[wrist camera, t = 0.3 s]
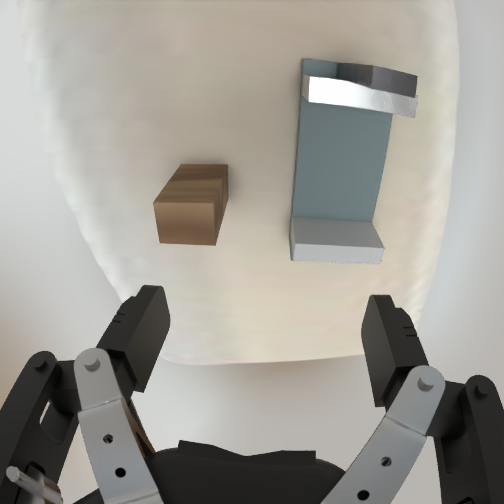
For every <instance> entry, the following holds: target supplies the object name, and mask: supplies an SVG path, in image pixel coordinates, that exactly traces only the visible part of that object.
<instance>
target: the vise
mask: <svg viewBox="0 0 504 504" xmlns="http://www.w3.org/2000/svg"><path fill="white" fill-rule="evenodd" d="M303 74H307V75H317V76H326V77H334V78H336V75H337V63H336V62H329V61H320V60H311V59H302V75H301V93H300V109H299V125H298V139H297V152H296V165H295V177H294V189H293V200H292V211H291V221H290V232H289V243H290V256H291V260H292V261H311V262H334V263H358V264H380V262H381V259H382V256H383V252H384V249H385V248H384V246H383V244H382V242H381V240H380V238H379V236H378V234H377V232H376V230H375V228H374V226H373V224H372V219H373V215H374V210H375V206H376V202H377V197H378V193H379V188H380V183H381V178H382V173H383V168H384V163H385V157H386V152H387V146H388V140H389V134H390V128H391V121H392V114H393V113H387V112H382V111H376V110H371V109H364V108H358V107H351V106H344V105H336V104H327V103H318V102H309V101H308V100H307V99H306V98H305V97H304V96H303V95H302V91H303Z"/></svg>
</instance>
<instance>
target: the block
mask: <svg viewBox="0 0 504 504" xmlns="http://www.w3.org/2000/svg"><path fill="white" fill-rule="evenodd" d="M227 201H228V165H217V164H184V165H180V167H179V168H178V169H177V171H176V172H175V173H174V175H173V176H172V177H171V179H170V180H169V181H168V183H167V184H166V185H165V187H164V188H163V190H162V191H161V192H160V194H159V195H158V196H157V198H156V199H155V201H154V202H153V204H154V211H155V217H156V224H157V230H158V235H159V241H160V243H168V244H191V245H213V246H215V245H216V242H217V238H218V234H219V230H220V227H221V223H222V219H223V216H224V212H225V208H226V205H227Z"/></svg>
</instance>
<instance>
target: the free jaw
mask: <svg viewBox="0 0 504 504" xmlns="http://www.w3.org/2000/svg"><path fill="white" fill-rule="evenodd" d="M417 77H418V76H415V75H412V74H408V73H404V72H400V71H396V70H391V69H387V68H382V67H377V66H372V65H362V64H350V63H337V75H336V78H334V77H326V76H317V75H307V74H303V91H302V95H303V96H304V97H305V98H306V99H307V100H308V101H309V102H318V103H327V104H336V105H344V106H351V107H358V108H364V109H371V110H376V111H382V112H387V113H393V114H398V115H403V116H407V117H412V118H415V114H416V107H417V100H418V95H415V94H416V86H417Z"/></svg>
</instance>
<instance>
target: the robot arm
mask: <svg viewBox="0 0 504 504" xmlns="http://www.w3.org/2000/svg"><path fill="white" fill-rule="evenodd" d="M169 328H170V313H169V309H168V305H167V301H166V296H165V292H164V289H163V287H162V286H153V285H143V286H142V288H141V289H140V291H139V292H138V294H137V296H136V297H134V296H131V297H130V298H129V299H128V300H126V301H125V302H124V303H123V304H122V305H121V306H120V308H119V310H118V311H117V314H116V315H115V316H114V318H113V320H112V322H111V323H110V324H109V326H108V328H107V329H106V331H105V333H104V334H103V336H102V338H101V339H100V341H99V343H98V344H97V346H96V348H90V349H87V350H85V351H83V352H82V353H80V355H78V356H77V358H76V360H70V361H57V359H56V358H55V356H54V354H52V353H51V352H48V351H41V352H38V353H36V354H34V355H33V356H32V357H31V358H30V359H29V360H28V362H27V363H26V365H25V367H24V368H23V370H22V372H21V373H20V375H19V377H18V379H17V380H16V382H15V384H14V386H13V388H12V389H11V391H10V393H9V395H8V397H7V399H6V401H5V402H4V404H3V406H2V408H1V410H0V504H63V499H62V497H61V492H60V489H59V487H58V486H57V483H58V480H59V477H60V474H61V471H62V468H63V465H64V462H65V459H66V457H67V454H68V451H69V448H70V445H71V443H72V440H73V437H74V434H75V432H76V429H77V427H78V424H79V423H80V427H81V431H82V435H83V439H84V442H85V446H86V450H87V453H88V457H89V460H90V463H91V466H92V469H93V472H94V475H95V478H96V481H97V484H98V487H99V488H98V489H97V490H95V491H93V492H92V493H90V494H88V495H87V496H85V497H83V498H82V499H80V500H78V501H76V502H75V503H73V504H390V503H391V502H392V500H393V499H394V497H395V495H396V494H397V492H398V491H399V489H400V487H401V486H402V484H403V483H404V481H405V479H406V477H407V476H408V474H409V472H410V470H411V468H412V467H413V465H414V463H415V461H416V459H417V457H418V456H419V454H420V452H421V450H422V448H423V446H424V444H425V441H426V439H427V436H432V437H433V438H434V444H435V450H436V457H437V463H438V471H439V479H440V488H441V499H442V504H504V409H503V406H502V403H501V400H500V397H499V395H498V392H497V389H496V387H495V385H494V383H493V382H492V381H491V380H490V379H489V378H487V377H485V376H482V375H475V376H472V377H470V378H469V379H468V381H467V382H466V383H465V384H462V383H456V382H450V381H446V380H444V377H443V376H442V374H441V373H440V372H439V371H438V370H436V369H435V368H433V367H430V366H429V364H428V361H427V358H426V356H425V353H424V351H423V348H422V345H421V343H420V340H419V337H417V332H416V330H415V328H414V325H413V323H412V320H411V318H410V316H409V315H408V314H407V313H406V312H405V311H404V310H403V309H402V308H395V305H394V303H393V300H392V298H391V296H390V295H371V296H370V297H369V300H368V304H367V308H366V312H365V316H364V319H363V323H362V328H361V338H362V343H363V348H364V352H365V357H366V361H367V366H368V371H369V376H370V381H371V386H372V392H373V397H374V403H375V407H384V406H385V409H386V414H385V416H384V417H383V419H382V421H381V422H380V424H379V425H378V427H377V428H376V430H375V431H374V433H373V434H372V436H371V437H370V439H369V440H368V442H367V443H366V445H365V446H364V448H363V449H362V450H361V452H360V453H359V455H358V456H357V457H356V459H355V460H354V461H353V463H352V464H351V465H350V467H349V468H348V469H347V471H346V472H345V471H344V470H343V469H341V468H339V467H338V466H336V465H334V464H332V463H329V462H327V461H324V460H321V459H316V451H284V450H281V451H276V452H270V453H265V454H258V455H252V456H243V455H239V454H236V453H233V452H230V451H228V450H224V449H222V448H219V447H216V446H214V445H209V444H201V443H195V442H189V441H183V440H180V441H179V444H178V448H170V449H165V450H161V451H158V452H155V450H154V448H153V447H152V444H151V443H150V441H149V439H148V437H147V435H146V433H145V430H144V428H143V426H142V424H141V421H140V419H139V416H138V414H137V412H136V409H135V406H134V404H133V401H132V399H131V396H132V393H133V391H137V392H142V393H144V390H145V388H146V385H147V383H148V380H149V378H150V375H151V373H152V370H153V368H154V365H155V363H156V360H157V358H158V355H159V353H160V350H161V348H162V345H163V343H164V341H165V338H166V336H167V333H168V331H169ZM48 401H49V402H50V405H49V407H48V409H47V411H46V413H45V416H44V418H43V420H42V422H41V424H40V417H41V415H42V413H43V411H44V409H45V406H46V404H47V402H48Z"/></svg>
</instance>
